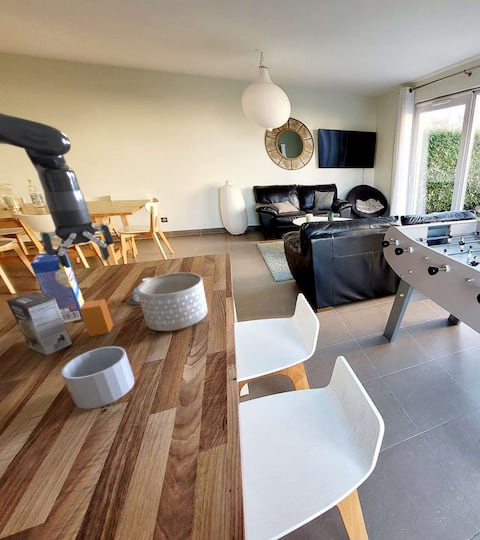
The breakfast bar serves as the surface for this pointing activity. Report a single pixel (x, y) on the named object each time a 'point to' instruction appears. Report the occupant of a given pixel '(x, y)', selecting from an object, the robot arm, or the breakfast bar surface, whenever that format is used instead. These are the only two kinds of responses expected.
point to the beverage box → (59, 285)
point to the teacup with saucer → (135, 296)
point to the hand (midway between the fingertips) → (87, 263)
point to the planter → (172, 301)
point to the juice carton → (96, 317)
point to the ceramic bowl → (98, 377)
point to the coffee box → (40, 322)
